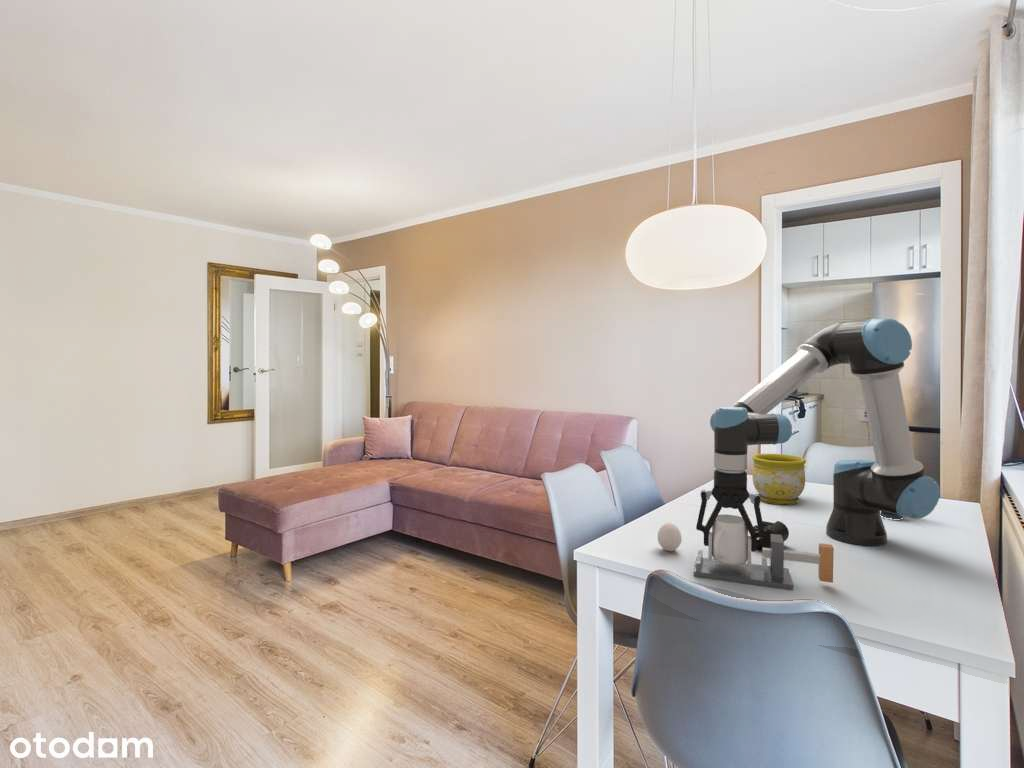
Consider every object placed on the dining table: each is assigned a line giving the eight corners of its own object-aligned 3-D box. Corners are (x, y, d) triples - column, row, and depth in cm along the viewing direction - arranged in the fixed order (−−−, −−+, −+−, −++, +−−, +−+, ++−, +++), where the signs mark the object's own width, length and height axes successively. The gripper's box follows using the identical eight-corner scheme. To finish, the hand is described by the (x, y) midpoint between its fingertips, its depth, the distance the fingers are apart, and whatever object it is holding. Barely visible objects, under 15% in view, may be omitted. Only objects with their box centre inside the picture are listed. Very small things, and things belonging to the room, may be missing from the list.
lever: (831, 578, 124) (831, 544, 124) (833, 582, 122) (833, 548, 122) (762, 569, 130) (762, 537, 130) (762, 573, 127) (763, 540, 127)
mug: (731, 572, 125) (732, 529, 124) (698, 563, 131) (699, 521, 130) (753, 559, 133) (753, 519, 133) (720, 551, 139) (721, 512, 139)
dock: (788, 573, 131) (789, 533, 131) (792, 590, 122) (793, 546, 121) (696, 561, 140) (696, 523, 139) (693, 576, 130) (694, 535, 129)
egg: (686, 551, 147) (686, 523, 147) (671, 556, 143) (671, 527, 143) (667, 545, 152) (667, 517, 152) (652, 549, 148) (652, 521, 148)
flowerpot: (815, 507, 192) (816, 461, 191) (765, 507, 192) (765, 461, 191) (789, 494, 210) (790, 453, 209) (744, 494, 210) (744, 453, 209)
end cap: (778, 555, 144) (778, 531, 143) (751, 549, 148) (751, 525, 148) (789, 546, 151) (789, 522, 151) (762, 540, 156) (762, 517, 156)
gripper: (776, 470, 130) (775, 561, 131) (686, 464, 138) (686, 550, 139) (779, 476, 123) (778, 572, 124) (684, 469, 131) (683, 560, 132)
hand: (729, 561), depth 131 cm, fingers closed on mug, 8 cm apart
